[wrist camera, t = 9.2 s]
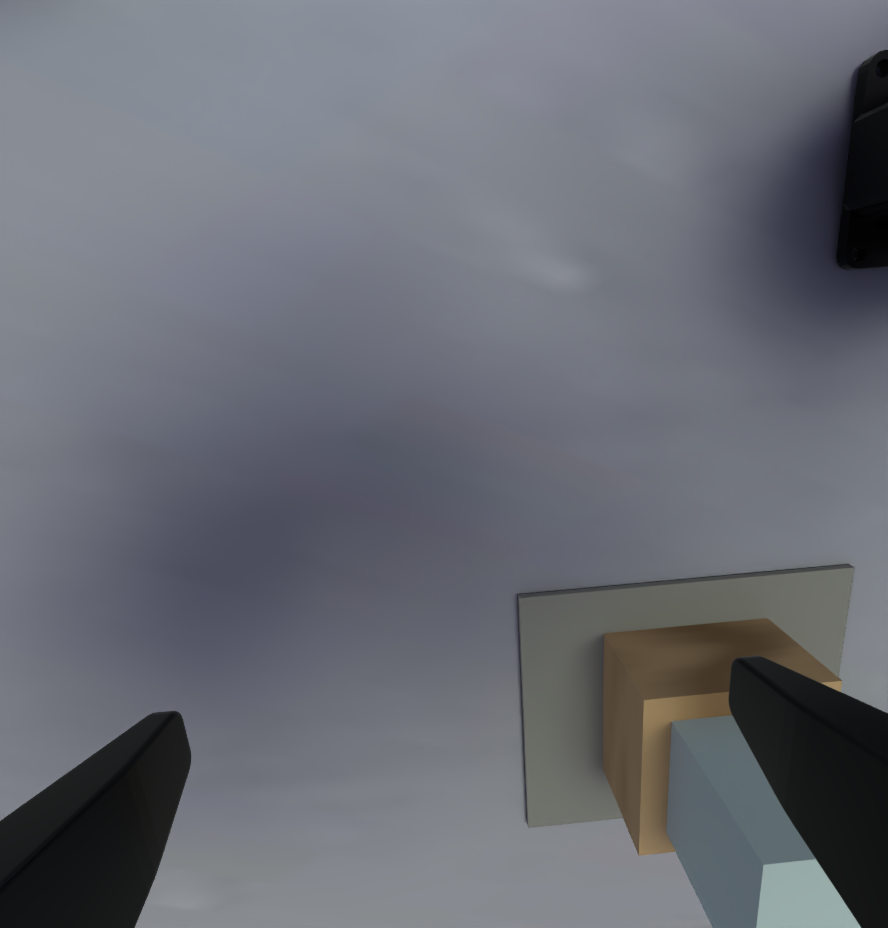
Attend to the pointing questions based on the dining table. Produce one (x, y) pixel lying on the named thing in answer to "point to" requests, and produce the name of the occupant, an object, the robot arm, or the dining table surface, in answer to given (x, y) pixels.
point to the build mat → (628, 609)
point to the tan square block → (675, 704)
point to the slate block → (741, 836)
